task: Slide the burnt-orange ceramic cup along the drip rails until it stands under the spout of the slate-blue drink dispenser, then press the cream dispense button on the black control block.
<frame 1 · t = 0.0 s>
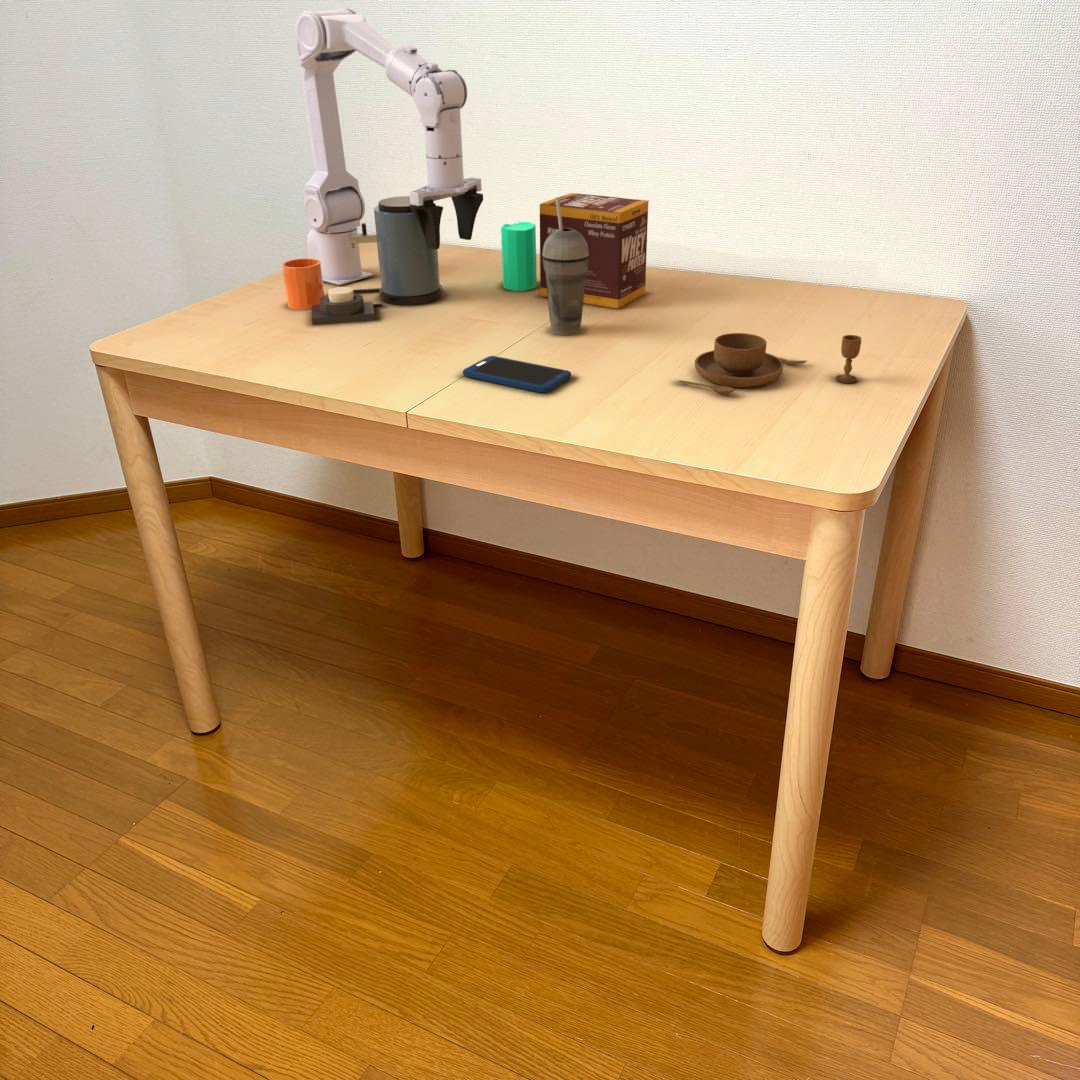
hand: (449, 243, 166), 10 cm above the table, tool pointing down, fingers open, 7 cm apart
cup: (306, 304, 173), on the table
place setting: (764, 382, 138), on the table
beverage cup: (565, 331, 158), on the table
supplement box: (593, 296, 175), on the table
candle: (519, 287, 180), on the table
dispense button: (341, 295, 165), point 3 cm above the table, slide at 0.1 cm
cell phone: (517, 377, 141), on the table
dispenser: (351, 301, 174), on the table
button block: (343, 316, 166), on the table
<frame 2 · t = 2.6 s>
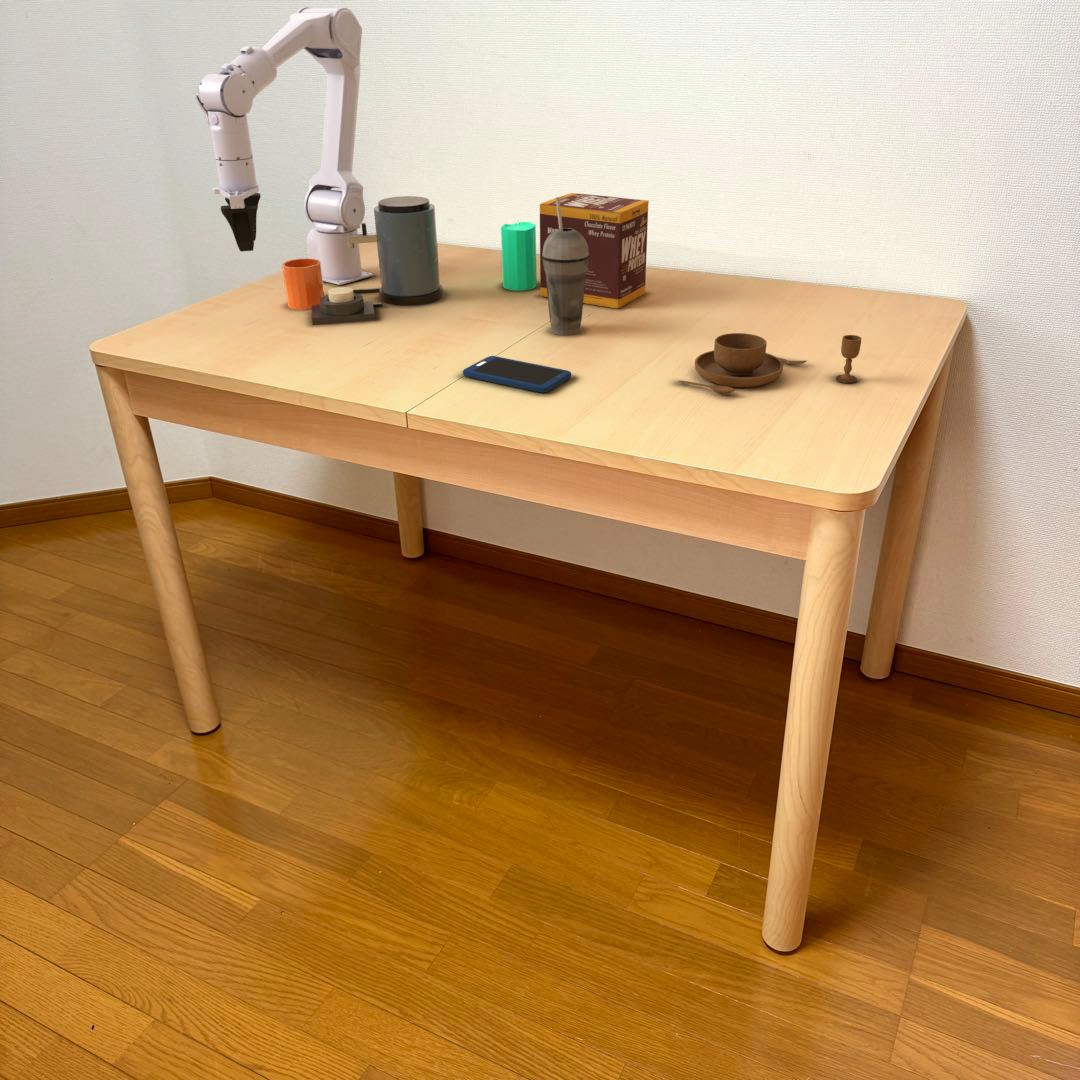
hand: (248, 245, 166), 10 cm above the table, tool pointing down, fingers open, 6 cm apart
nothing on the table moved.
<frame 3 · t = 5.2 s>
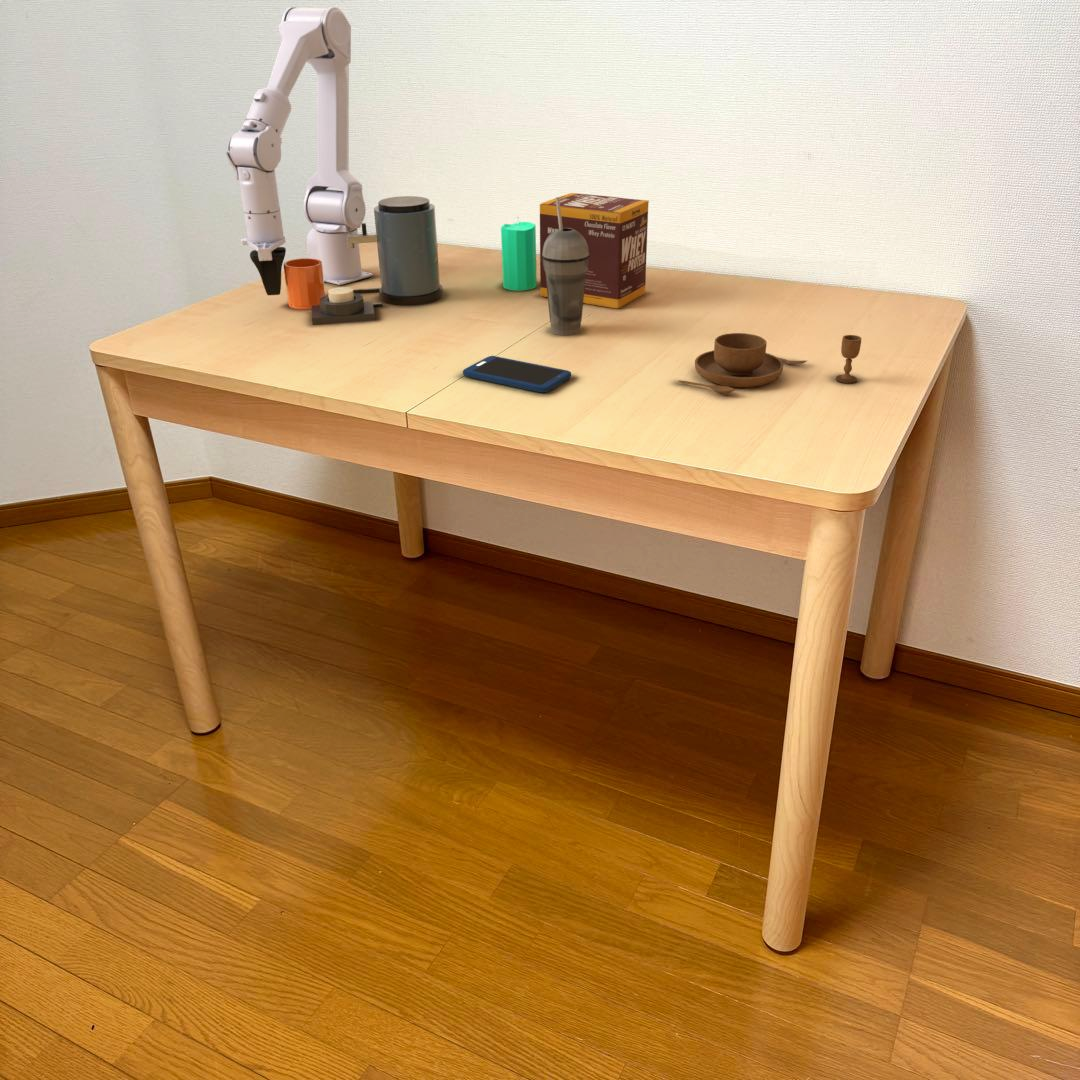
hand: (273, 294, 171), 2 cm above the table, tool pointing down, fingers closed, pressing on cup
cup: (307, 304, 173), on the table, touching gripper
everything else where it was.
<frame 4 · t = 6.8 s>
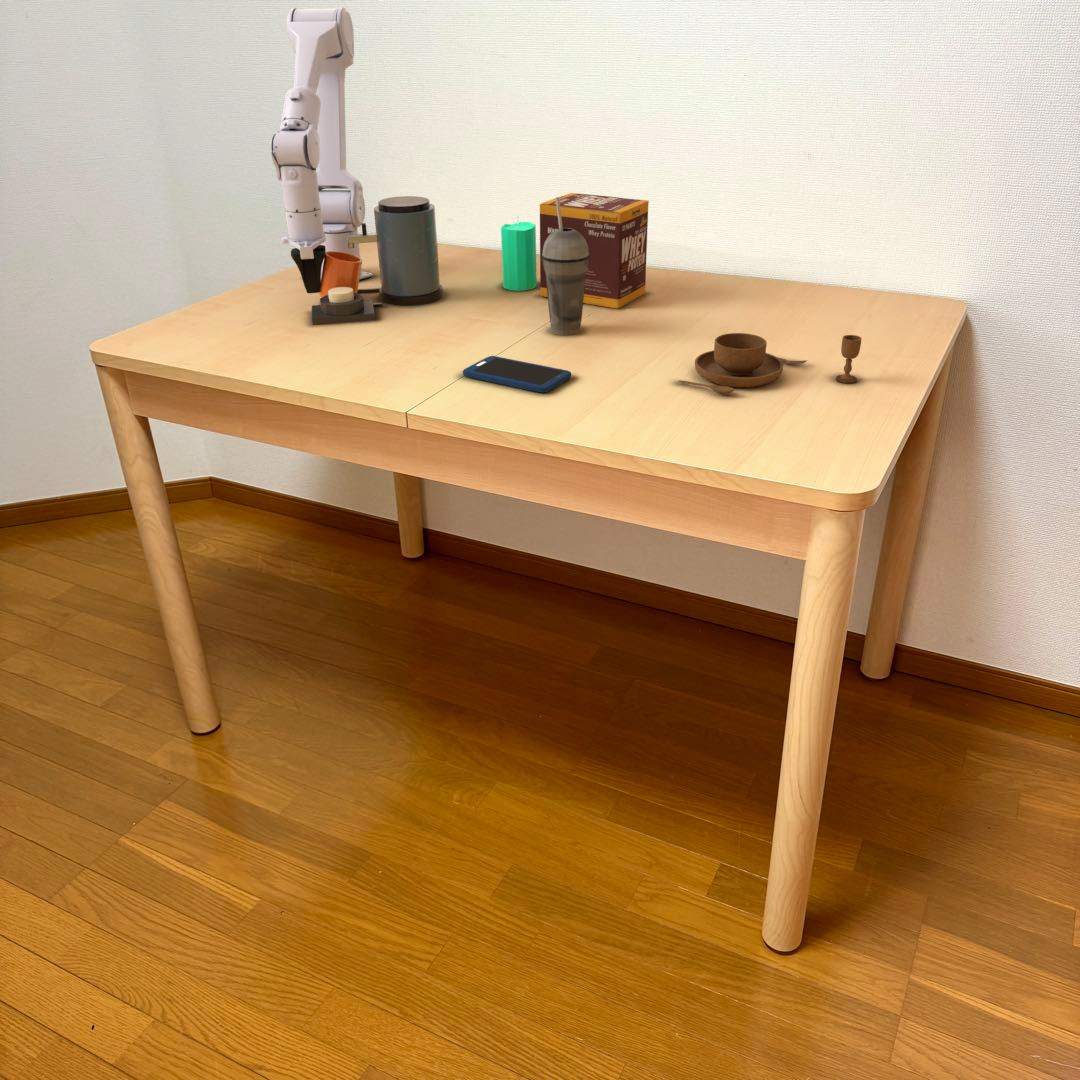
hand: (313, 291, 172), 2 cm above the table, tool pointing down, fingers closed, pressing on cup
cup: (337, 297, 173), point 1 cm above the table, tilted 15°, touching gripper
everything else where it was.
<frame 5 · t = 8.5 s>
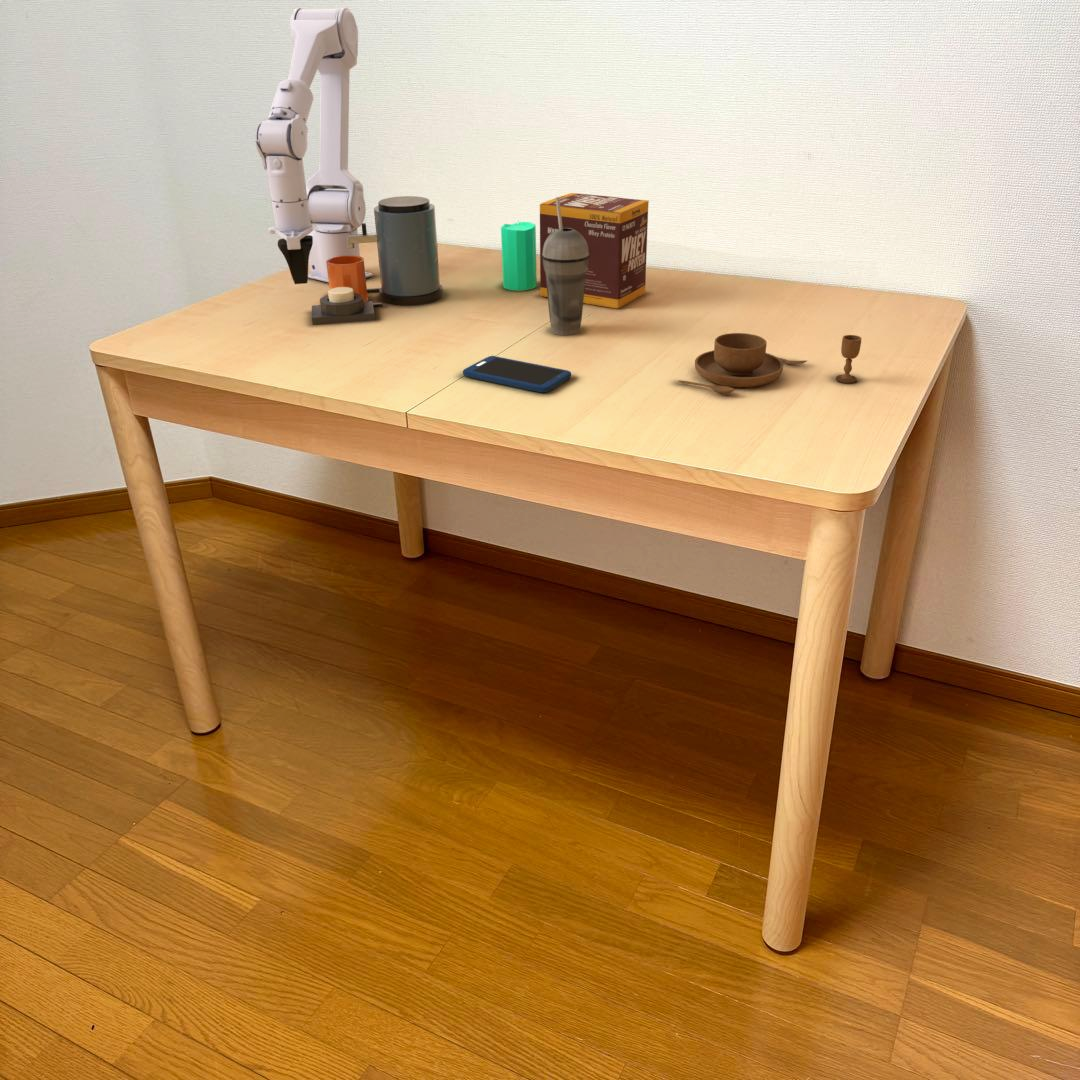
hand: (301, 282, 171), 4 cm above the table, tool pointing down, fingers closed
cup: (349, 301, 174), on the table
everything else where it was.
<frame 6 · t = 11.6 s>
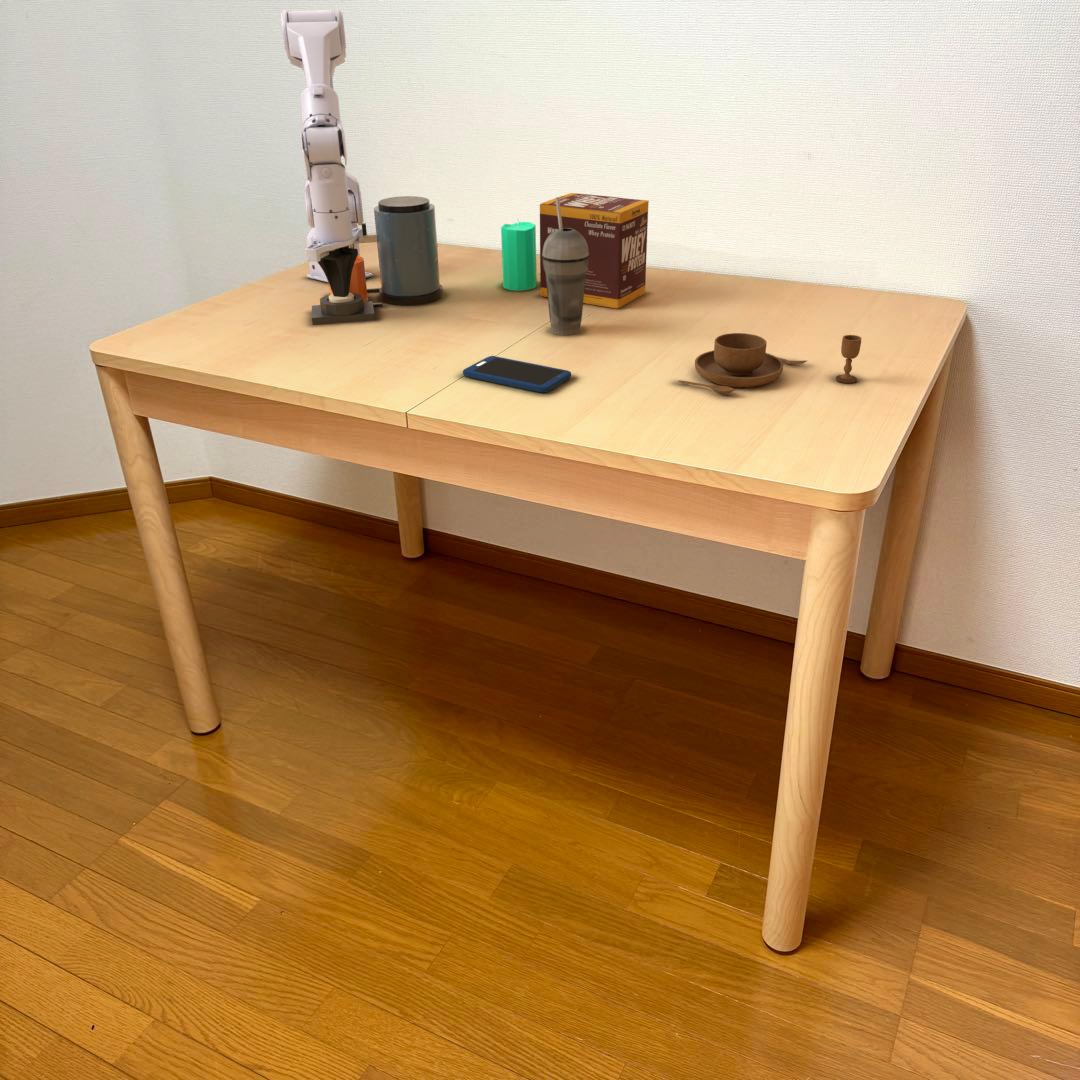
hand: (341, 295, 165), 3 cm above the table, tool pointing down, fingers closed, pressing on dispense button
dispense button: (341, 300, 165), point 3 cm above the table, slide at -0.8 cm, touching gripper
everything else where it was.
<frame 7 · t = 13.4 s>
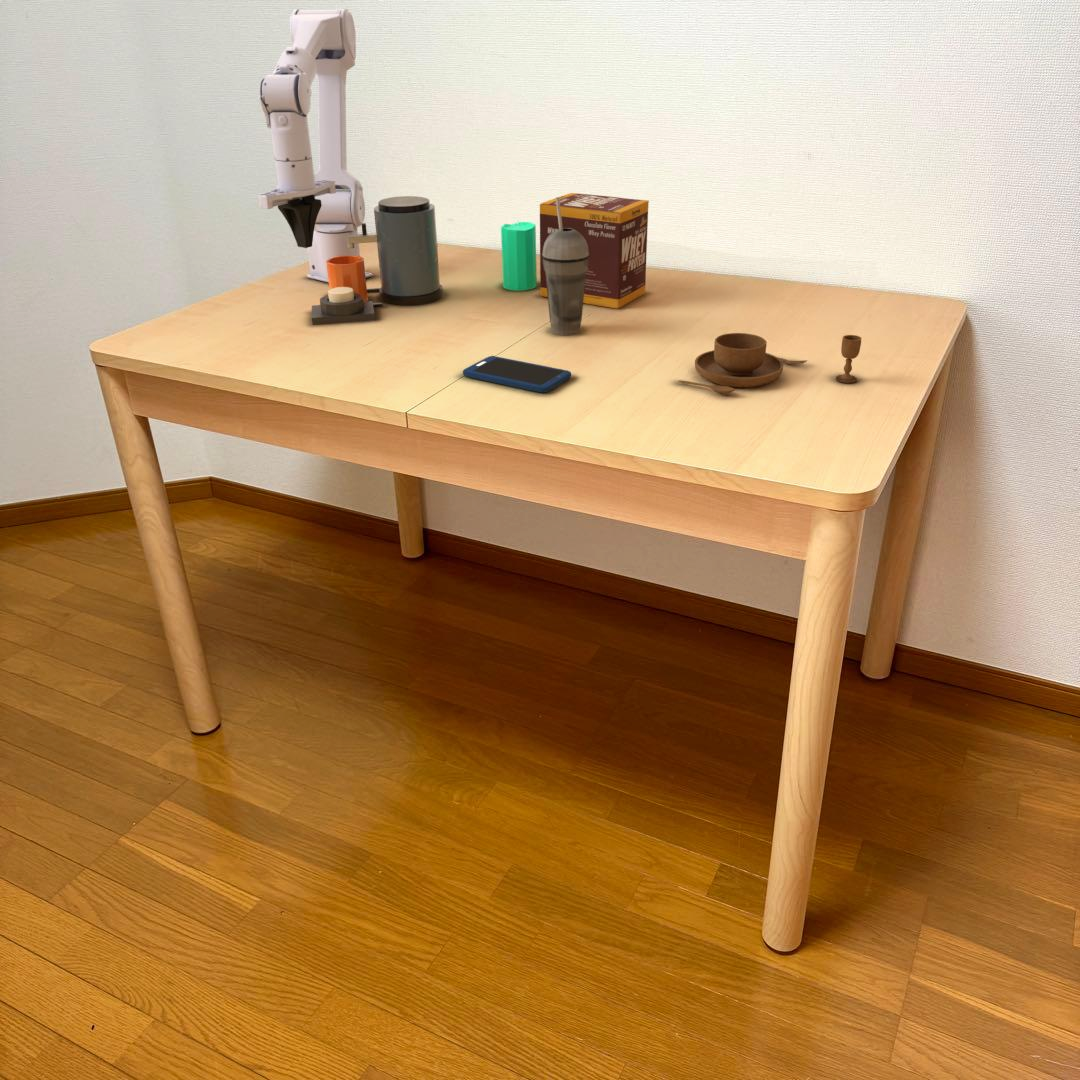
hand: (305, 246, 165), 10 cm above the table, tool pointing down, fingers closed
dispense button: (341, 295, 165), point 3 cm above the table, slide at 0.1 cm
everything else where it was.
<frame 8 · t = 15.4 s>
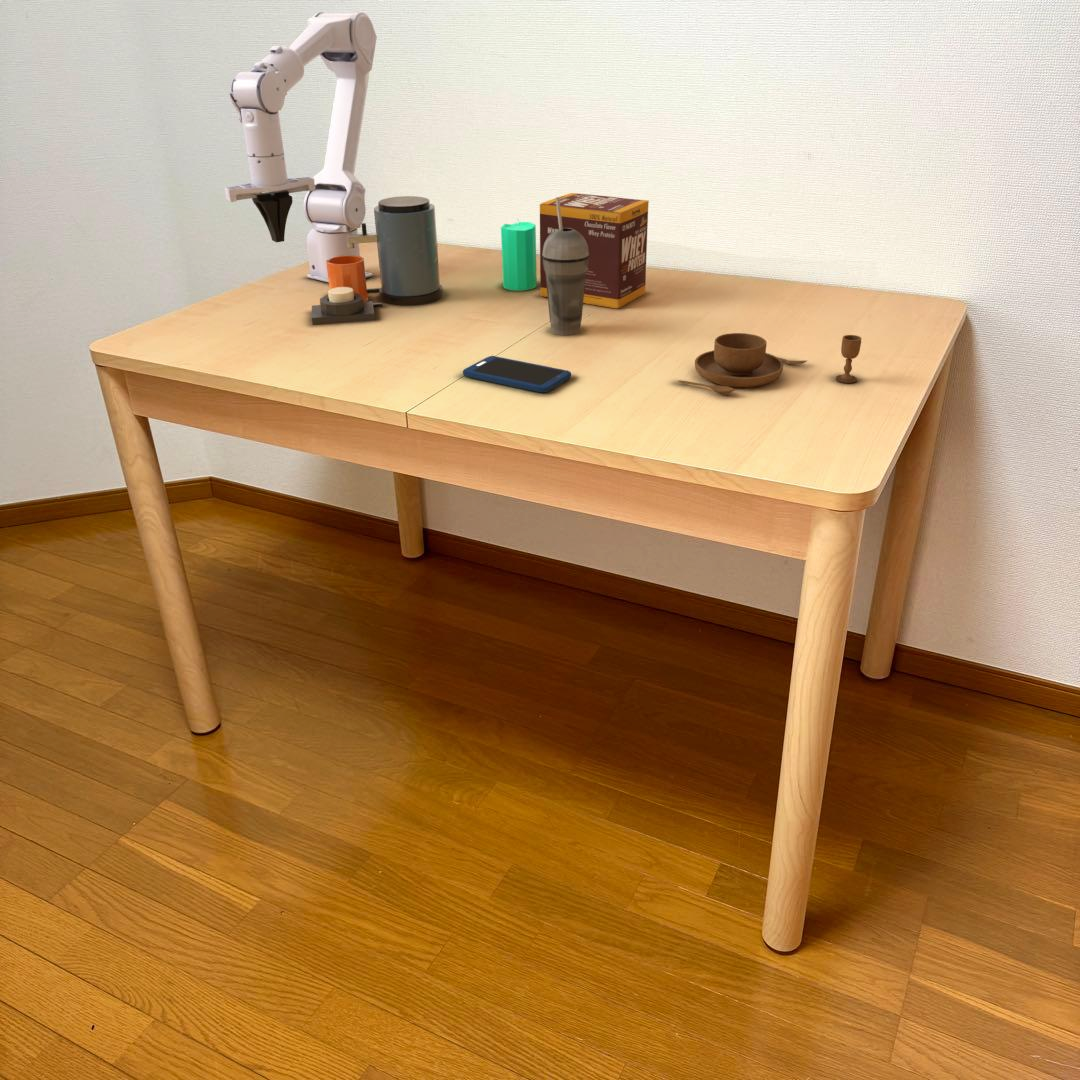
hand: (278, 240, 169), 10 cm above the table, tool pointing down, fingers closed
nothing on the table moved.
at the end: cup 0.3 cm from the dispenser (horizontally); cup tilted 0°; dispense button pushed in 1.2 cm at the most during the clip, back to where it started at the end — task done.
